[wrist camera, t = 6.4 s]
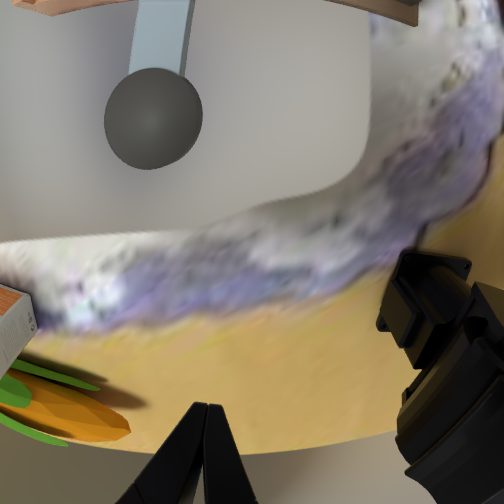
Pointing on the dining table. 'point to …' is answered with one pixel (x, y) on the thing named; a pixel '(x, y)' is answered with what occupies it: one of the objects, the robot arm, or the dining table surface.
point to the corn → (55, 407)
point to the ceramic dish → (60, 5)
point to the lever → (156, 90)
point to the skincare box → (14, 325)
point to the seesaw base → (388, 8)
